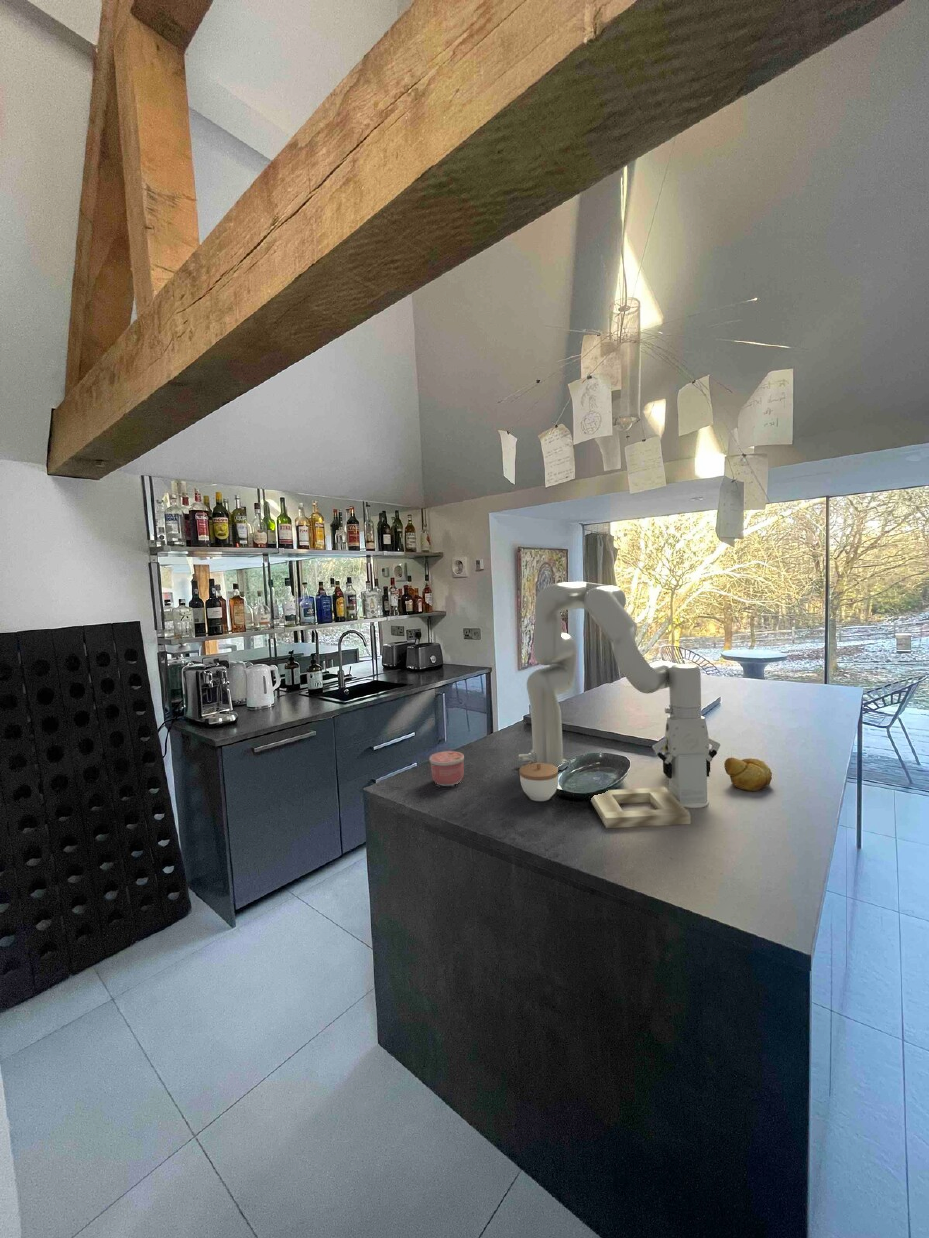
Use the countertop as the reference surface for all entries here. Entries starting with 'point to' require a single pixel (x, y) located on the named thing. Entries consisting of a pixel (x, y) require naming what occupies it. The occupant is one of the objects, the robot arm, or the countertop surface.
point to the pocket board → (659, 797)
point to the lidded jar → (539, 780)
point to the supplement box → (689, 778)
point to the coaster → (695, 804)
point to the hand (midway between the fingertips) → (686, 775)
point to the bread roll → (748, 773)
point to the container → (447, 767)
